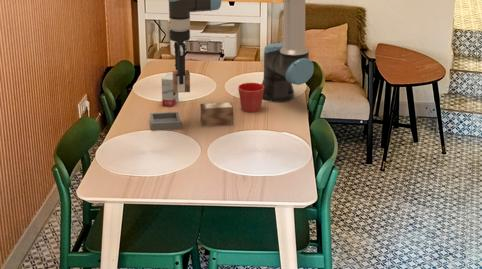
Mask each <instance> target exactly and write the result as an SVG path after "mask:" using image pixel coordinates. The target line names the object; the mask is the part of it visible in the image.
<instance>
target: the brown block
mask: <svg viewBox="0 0 482 269" xmlns="http://www.w3.org/2000/svg"><path fill="white" fill-rule="evenodd" d="M172 74H173V91H174V93H178V94H179V93H180V92H178V90H177V76H176V74H178V71H177V70H172ZM185 74H186V75H185V92H184V93H191V73H190V71H189V69H187V70H186V69H185Z"/></svg>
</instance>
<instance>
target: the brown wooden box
mask: <svg viewBox="0 0 482 269" xmlns="http://www.w3.org/2000/svg"><path fill="white" fill-rule="evenodd" d="M199 111H200V124H201V126H202V127H210V126H214V127H215V126H228V125H229V126H230V125H233V126H234V106H233V104H232V102H212V103H209V102H206V103H200V109H199Z"/></svg>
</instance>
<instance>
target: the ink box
mask: <svg viewBox="0 0 482 269" xmlns="http://www.w3.org/2000/svg"><path fill="white" fill-rule="evenodd" d="M161 100H162V101H161V104H162V106H164V107H166V106H167V107H174V106H175V105H176V104H177V103H178V101H179V93H174V91H173V72H172V73H171V72H170V73H169V72H167V73H165V75H163V76H162V77H161Z"/></svg>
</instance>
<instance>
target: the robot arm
mask: <svg viewBox="0 0 482 269" xmlns="http://www.w3.org/2000/svg"><path fill="white" fill-rule="evenodd" d="M167 1H168V14H169V16H168V18H169V20H167V23H168V24H169V32H168V34H169V40H170V41H172V42H174V43H173V48H174V58H175V59H174V67H175V71H178V74H176V76H177V90H178V92H179V93H186V92H185V75H186V74H185V70H186V48H187V47H186V43H185V42H188V41H189V40H191V30H190V29H191V16H190V15H191V13H197V12H199V13H200V12H212V11H218V10H219V9H221V6H222V0H167ZM263 49H264V51H263V79H262V82H261V84H262V85H263V86H264V93H263V99H262V100H264V101H269V102H277V103H278V102H279V103H280V102H288V101H291V100H293V99H294V97H295V90H294V87H293V85H296V86H298V85H303V84H305V83H307V82H308V81H309V80H310V79H311V78H312V76H313V74H314V69H315V65H314V63H313V61H312V60H311V59H310V51H309V50H310V49H309V48H308V47H307V46H306V0H283V42H278V43H277V42H276V43H275V42H274V43H269V44H266V45H265V47H264V48H263Z"/></svg>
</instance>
